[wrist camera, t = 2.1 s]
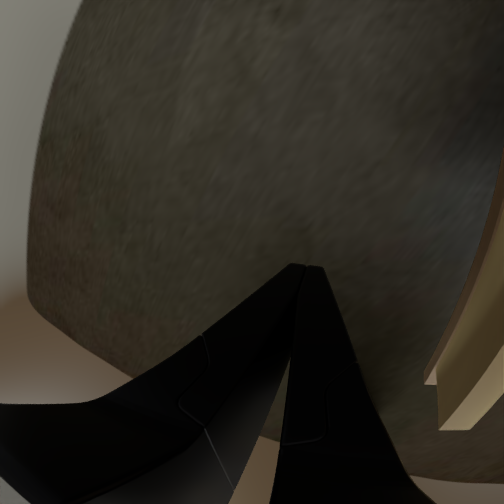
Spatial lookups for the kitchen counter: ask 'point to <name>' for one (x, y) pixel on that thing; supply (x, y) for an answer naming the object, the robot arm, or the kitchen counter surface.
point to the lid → (474, 332)
